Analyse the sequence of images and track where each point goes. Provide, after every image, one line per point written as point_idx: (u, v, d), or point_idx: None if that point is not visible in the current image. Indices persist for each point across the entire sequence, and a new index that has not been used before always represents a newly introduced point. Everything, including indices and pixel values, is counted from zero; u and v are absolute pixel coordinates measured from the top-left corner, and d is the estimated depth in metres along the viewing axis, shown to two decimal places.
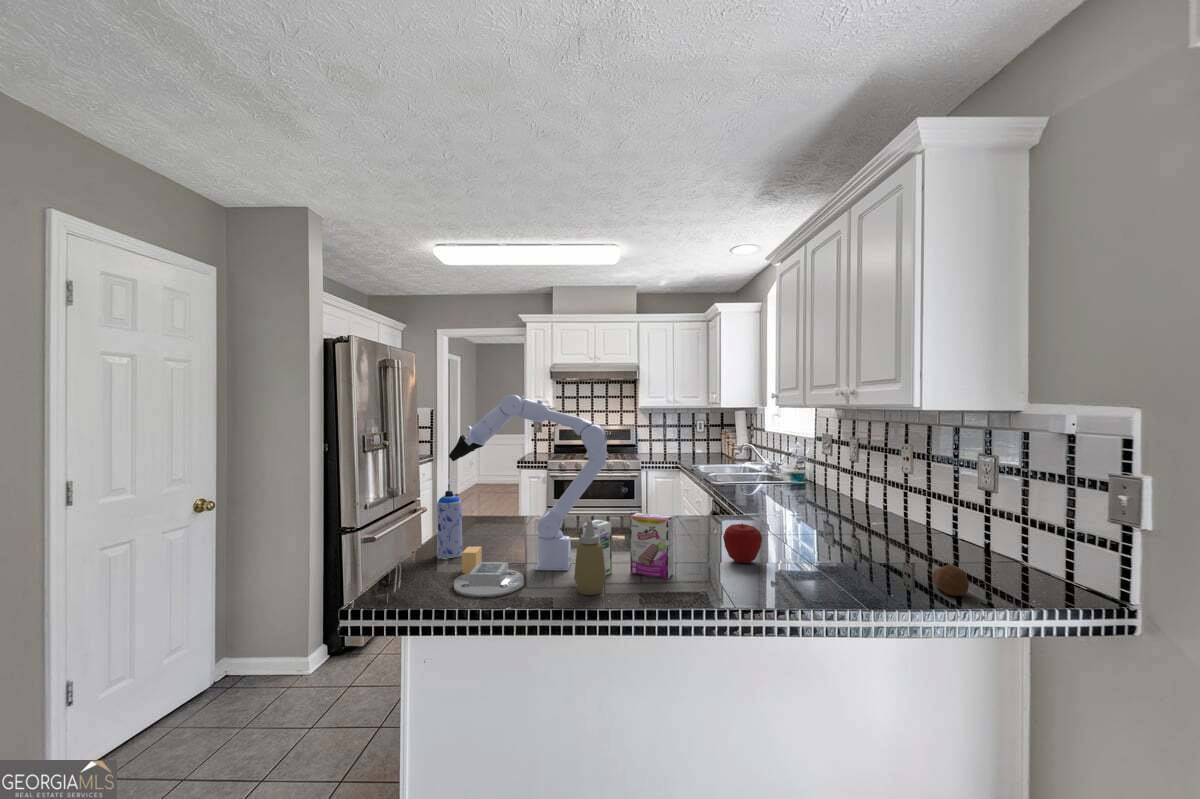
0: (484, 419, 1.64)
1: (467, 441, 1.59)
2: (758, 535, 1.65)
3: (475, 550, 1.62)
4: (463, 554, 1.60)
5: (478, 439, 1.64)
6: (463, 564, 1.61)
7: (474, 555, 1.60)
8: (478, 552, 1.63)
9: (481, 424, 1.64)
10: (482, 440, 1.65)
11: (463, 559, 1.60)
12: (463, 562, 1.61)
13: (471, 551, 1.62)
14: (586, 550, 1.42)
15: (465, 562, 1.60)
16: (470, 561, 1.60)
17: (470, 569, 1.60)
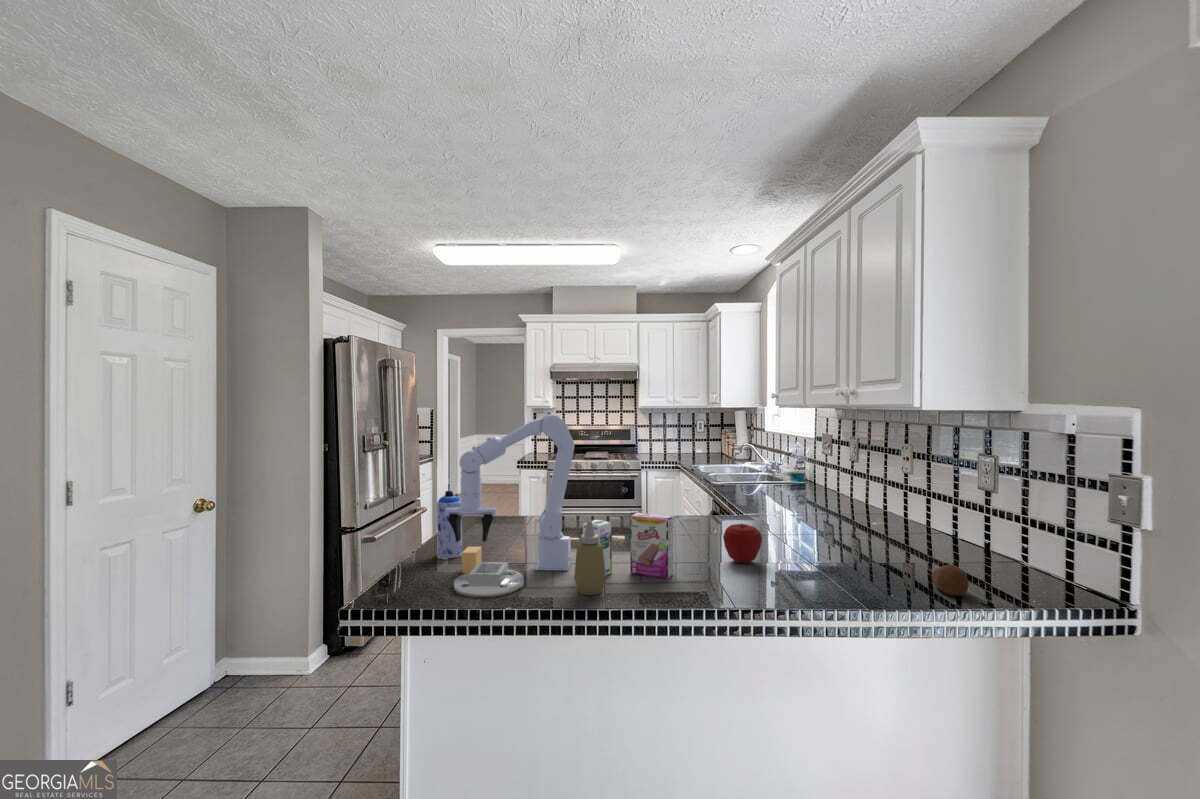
0: (463, 492, 1.61)
1: (496, 513, 1.63)
2: (758, 535, 1.65)
3: (475, 550, 1.62)
4: (463, 554, 1.60)
5: (481, 507, 1.64)
6: (463, 564, 1.61)
7: (474, 555, 1.60)
8: (478, 552, 1.63)
9: (477, 497, 1.61)
10: None
11: (463, 559, 1.60)
12: (463, 562, 1.61)
13: (471, 551, 1.62)
14: (586, 550, 1.42)
15: (465, 562, 1.60)
16: (470, 561, 1.60)
17: (470, 569, 1.60)
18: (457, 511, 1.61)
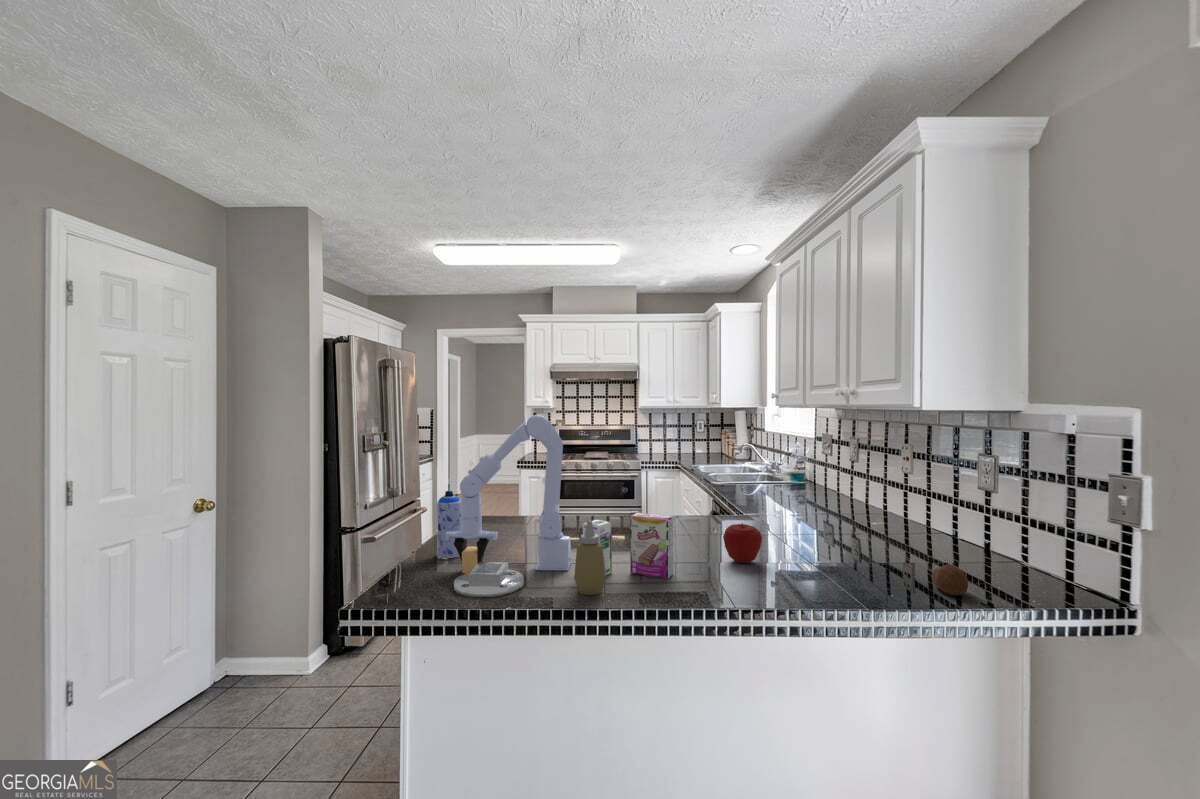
0: (463, 516, 1.61)
1: (496, 537, 1.63)
2: (758, 535, 1.65)
3: (475, 550, 1.62)
4: (463, 554, 1.60)
5: (481, 531, 1.64)
6: (463, 564, 1.61)
7: (474, 555, 1.60)
8: None
9: (478, 521, 1.61)
10: None
11: (463, 559, 1.60)
12: (463, 562, 1.61)
13: (471, 551, 1.62)
14: (586, 550, 1.42)
15: (465, 561, 1.60)
16: (470, 560, 1.60)
17: (470, 568, 1.60)
18: (457, 535, 1.61)
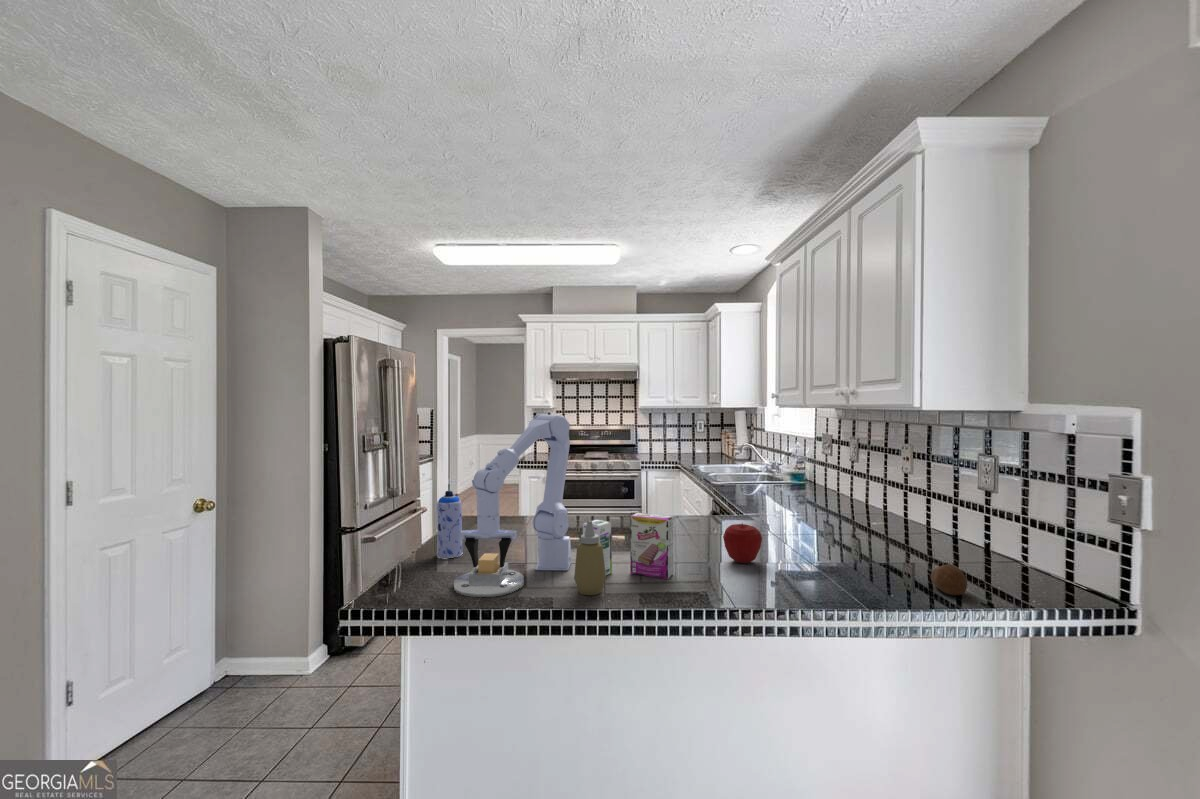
0: (486, 514, 1.48)
1: (515, 537, 1.50)
2: (758, 535, 1.65)
3: (492, 557, 1.50)
4: (479, 562, 1.48)
5: (499, 530, 1.52)
6: None
7: (491, 563, 1.48)
8: (495, 559, 1.50)
9: (495, 519, 1.49)
10: None
11: (479, 567, 1.48)
12: (479, 570, 1.48)
13: (488, 558, 1.49)
14: (586, 550, 1.42)
15: (482, 570, 1.48)
16: (487, 569, 1.48)
17: None
18: (473, 535, 1.49)
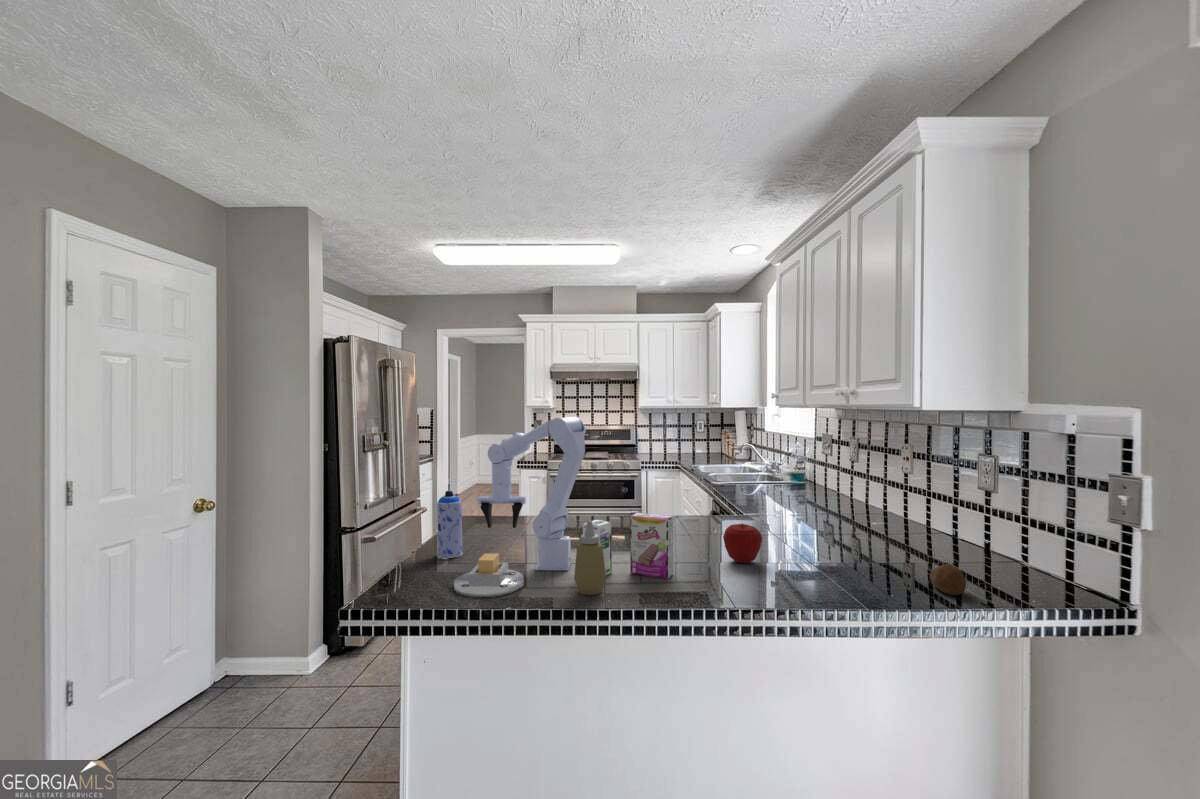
0: (492, 481, 1.74)
1: (525, 501, 1.74)
2: (758, 535, 1.65)
3: (492, 557, 1.50)
4: (479, 562, 1.48)
5: (511, 496, 1.76)
6: None
7: (491, 563, 1.48)
8: (495, 559, 1.50)
9: (508, 486, 1.73)
10: None
11: (479, 567, 1.48)
12: (479, 570, 1.48)
13: (488, 558, 1.49)
14: (586, 550, 1.42)
15: (482, 570, 1.48)
16: (487, 569, 1.48)
17: None
18: (489, 499, 1.73)
